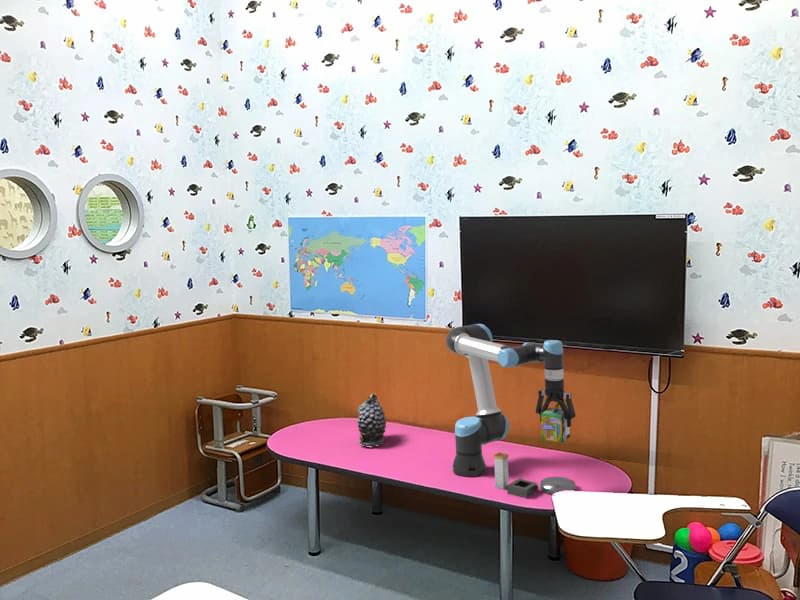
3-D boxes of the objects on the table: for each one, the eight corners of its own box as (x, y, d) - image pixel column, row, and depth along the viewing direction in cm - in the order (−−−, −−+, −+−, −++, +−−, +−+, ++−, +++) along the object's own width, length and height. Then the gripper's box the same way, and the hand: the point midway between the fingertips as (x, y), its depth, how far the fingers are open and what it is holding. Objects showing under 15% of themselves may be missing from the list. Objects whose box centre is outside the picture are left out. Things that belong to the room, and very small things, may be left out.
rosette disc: (534, 490, 286) (534, 484, 285) (550, 480, 296) (550, 474, 296) (565, 498, 276) (565, 492, 276) (581, 487, 287) (581, 481, 287)
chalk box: (549, 434, 290) (548, 399, 289) (570, 436, 285) (569, 401, 284) (541, 440, 283) (539, 405, 281) (562, 443, 278) (561, 407, 276)
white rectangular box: (494, 487, 291) (493, 455, 289) (500, 484, 294) (499, 452, 292) (503, 489, 288) (502, 457, 286) (509, 486, 291) (508, 454, 290)
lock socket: (507, 493, 284) (507, 485, 284) (519, 486, 291) (518, 478, 290) (526, 498, 278) (526, 490, 278) (537, 491, 285) (537, 482, 285)
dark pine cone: (359, 437, 367) (357, 390, 364) (388, 436, 367) (385, 389, 364) (355, 450, 347) (353, 401, 344) (385, 449, 346) (383, 400, 343)
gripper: (525, 377, 286) (527, 430, 288) (575, 383, 271) (576, 439, 274) (534, 374, 291) (536, 426, 294) (583, 379, 277) (585, 434, 279)
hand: (555, 432), depth 284 cm, fingers closed on chalk box, 9 cm apart
